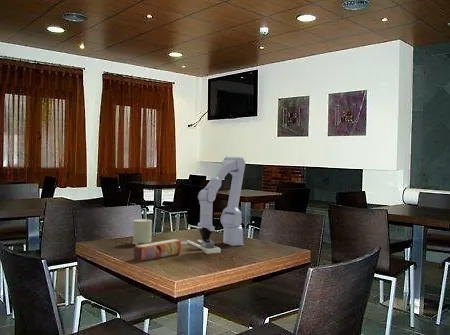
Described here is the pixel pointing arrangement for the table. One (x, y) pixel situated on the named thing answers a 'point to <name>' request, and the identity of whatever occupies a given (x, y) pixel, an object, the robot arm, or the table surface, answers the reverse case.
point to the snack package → (157, 249)
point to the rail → (205, 250)
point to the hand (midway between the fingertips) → (205, 244)
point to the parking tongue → (184, 242)
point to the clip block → (207, 243)
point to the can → (142, 231)
